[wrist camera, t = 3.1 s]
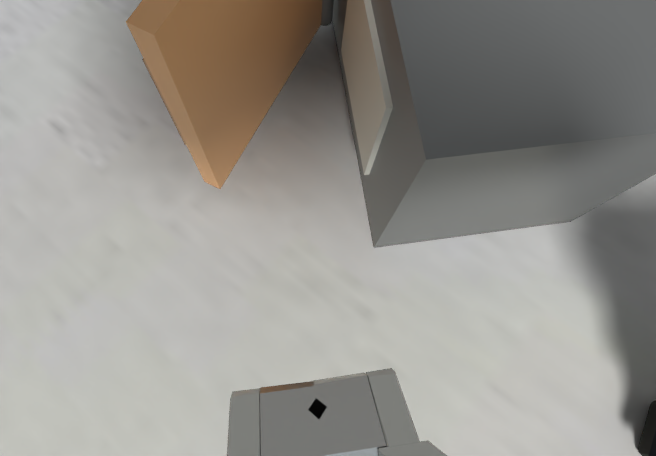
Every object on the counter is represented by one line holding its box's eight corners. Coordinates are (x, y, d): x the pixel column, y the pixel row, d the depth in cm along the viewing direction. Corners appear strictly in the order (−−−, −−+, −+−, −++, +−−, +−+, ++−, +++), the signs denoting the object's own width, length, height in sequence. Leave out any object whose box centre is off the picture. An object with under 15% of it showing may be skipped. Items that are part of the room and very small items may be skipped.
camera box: (368, 248, 28) (417, 160, 16) (323, -4, 33) (337, -208, 21) (570, 221, 29) (747, 122, 18) (498, -18, 34) (600, -218, 22)
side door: (192, 175, 27) (103, 11, 15) (302, 1, 31) (305, -244, 19) (227, 193, 27) (168, 41, 15) (334, 16, 31) (358, -222, 19)
